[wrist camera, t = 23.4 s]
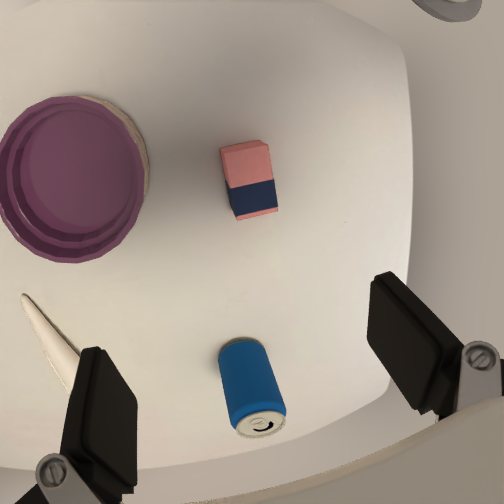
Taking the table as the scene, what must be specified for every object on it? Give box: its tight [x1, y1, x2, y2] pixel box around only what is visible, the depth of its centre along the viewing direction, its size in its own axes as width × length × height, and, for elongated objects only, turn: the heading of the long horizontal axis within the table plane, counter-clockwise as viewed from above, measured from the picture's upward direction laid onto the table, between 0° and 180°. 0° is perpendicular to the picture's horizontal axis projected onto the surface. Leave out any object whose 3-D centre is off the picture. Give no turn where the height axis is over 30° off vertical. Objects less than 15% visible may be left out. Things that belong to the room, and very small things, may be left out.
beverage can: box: [218, 341, 286, 439], centre depth 37 cm, size 6×6×12 cm
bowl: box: [0, 96, 149, 263], centre depth 26 cm, size 15×15×4 cm
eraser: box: [220, 140, 278, 221], centre depth 30 cm, size 6×4×3 cm, turn 10°
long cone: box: [21, 295, 80, 395], centre depth 35 cm, size 6×6×19 cm
